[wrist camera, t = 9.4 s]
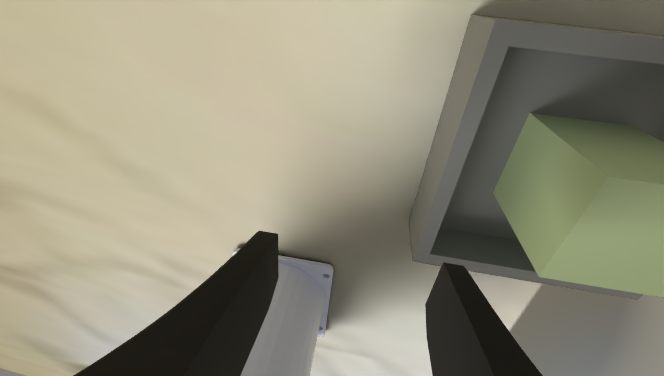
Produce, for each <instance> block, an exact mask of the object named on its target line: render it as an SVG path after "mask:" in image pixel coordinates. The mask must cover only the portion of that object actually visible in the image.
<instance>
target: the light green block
mask: <svg viewBox="0 0 664 376" xmlns="http://www.w3.org/2000/svg"><path fill="white" fill-rule="evenodd" d="M493 194H494V196H495V198H496V199H497V201H498V203H499V205H500V207H501V209H502V210H503V212H504V214H505V216H506V218H507V220H508V221H509V223H510V225H511V227H512V229H513V231H514V232H515V234H516V236H517V238H518V240H519V242H520V243H521V245H522V247H523V249H524V251H525V253H526V254H527V256H528V258H529V260H530V262H531V263H532V265H533V267H534V269H535V271H536V273H537V274H538V276H539V277H542V278H548V279H554V280H560V281H566V282H572V283H578V284H584V285H590V286H596V287H602V288H608V289H614V290H620V291H626V292H632V293H638V294H644V295H650V296H656V297H662V298H664V142H663V141H661V140H659V139H657V138H655V137H653V136H651V135H649V134H647V133H645V132H644V131H642V130H640V129H638V128H636V127H634V126H630V125H622V124H614V123H606V122H598V121H590V120H582V119H574V118H566V117H558V116H550V115H542V114H535V113H529V115H528V118H527V120H526V122H525V124H524V126H523V128H522V131H521V133H520V135H519V137H518V139H517V141H516V144H515V146H514V148H513V150H512V152H511V154H510V157H509V159H508V161H507V163H506V165H505V167H504V170H503V172H502V174H501V176H500V178H499V180H498V183H497V185H496V187H495V189H494V191H493Z"/></svg>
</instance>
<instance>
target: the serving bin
mask: <svg viewBox="0 0 664 376" xmlns="http://www.w3.org/2000/svg"><path fill="white" fill-rule="evenodd" d="M529 113H535V114H542V115H550V116H558V117H566V118H574V119H582V120H590V121H598V122H606V123H614V124H622V125H630V126H634V127H636V128H638V129H640V130H642V131H644V132H645V133H647V134H649V135H651V136H653V137H655V138H657V139H659V140H661V141H663V142H664V36H661V35H652V34H643V33H634V32H624V31H615V30H606V29H597V28H588V27H579V26H570V25H561V24H552V23H543V22H534V21H525V20H516V19H507V18H498V17H489V16H480V15H471V17H470V20H469V24H468V27H467V30H466V34H465V37H464V40H463V43H462V47H461V50H460V53H459V57H458V60H457V63H456V67H455V70H454V73H453V77H452V80H451V83H450V87H449V90H448V93H447V97H446V100H445V103H444V107H443V110H442V113H441V117H440V120H439V123H438V127H437V130H436V133H435V137H434V140H433V143H432V146H431V150H430V153H429V156H428V160H427V163H426V166H425V170H424V173H423V176H422V180H421V183H420V186H419V190H418V193H417V196H416V200H415V203H414V206H413V210H412V213H411V216H410V220H409V230H410V239H411V248H412V258H413V261H415V262H421V263H426V264H432V265H438V266H442V264H443V262H445V263H450V264H456V265H462V266H464V267H465V268H466V270H467V271H473V272H479V273H485V274H490V275H496V276H502V277H508V278H514V279H519V280H525V281H531V282H537V283H543V284H549V285H554V286H560V287H566V288H572V289H578V290H584V291H589V292H595V293H601V294H607V295H612V296H618V297H624V298H630V299H636V300H637V299H639V297H641V296H642V295H643V294H638V293H632V292H626V291H620V290H614V289H608V288H602V287H596V286H590V285H584V284H578V283H572V282H566V281H560V280H554V279H548V278H542V277H539V276H538V274H537V273H536V271H535V269H534V267H533V265H532V263H531V262H530V260H529V258H528V256H527V254H526V253H525V251H524V249H523V247H522V245H521V243H520V242H519V240H518V238H517V236H516V234H515V232H514V231H513V229H512V227H511V225H510V223H509V221H508V220H507V218H506V216H505V214H504V212H503V210H502V209H501V207H500V205H499V203H498V201H497V199H496V198H495V196H494V194H493V191H494V189H495V187H496V185H497V183H498V180H499V178H500V176H501V174H502V172H503V170H504V167H505V165H506V163H507V161H508V159H509V157H510V154H511V152H512V150H513V148H514V146H515V144H516V141H517V139H518V137H519V135H520V133H521V131H522V128H523V126H524V124H525V122H526V120H527V118H528V115H529Z"/></svg>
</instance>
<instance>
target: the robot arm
mask: <svg viewBox="0 0 664 376" xmlns="http://www.w3.org/2000/svg"><path fill="white" fill-rule="evenodd" d="M333 271H334V268H333V266H331V265H330V264H326V263H320V262H314V261H309V260H303V259H297V258H292V257H286V256H280V255H278V234H275V233H269V232H263V231H258V232H257V233H256V234H255V235H254V236H253V237H252V238H251V239H250V240H249V241H248V242H247V243H246V244H245V245H244V246H243V247H242V248H236V249H235V250H234V251H233V253H232V257H231V258H230V259H229V260H228V261H227V262H226V263H225V264H224V265H223V266H222V267H220V268H219V269H218V270H217V271H216V272H215V273H214V274H213V275H212V276H210V277H209V278H208V279H207V280H206V281H205V282H204V283H202V284H201V285H200V286H199V287H198V288H196V289H195V290H194V291H193V292H192V293H190V294H189V295H188V296H187V297H186V298H184V299H183V300H182V301H181V302H180V303H178V304H177V305H176V306H175V307H173V308H172V309H171V310H169V311H168V312H167V313H165V314H164V315H163V316H161V317H160V318H159V319H157V320H156V321H155V322H153V323H152V324H151V325H149V326H148V327H146V328H145V329H144V330H142V331H141V332H140V333H138V334H137V335H135V336H134V337H132V338H131V339H129V340H128V341H126V342H125V343H123V344H122V345H120V346H119V347H117V348H116V349H114V350H113V351H111V352H110V353H109V354H107V355H106V356H104V357H102V358H101V359H99V360H98V361H96V362H95V363H93V364H92V365H90V366H88V367H87V368H85V369H84V370H82V371H80V372H79V373H77V374H75V375H74V376H310V371H311V366H312V361H313V356H314V350H315V345H316V340H317V337H323V336H324V335H325V330H326V322H327V315H328V308H329V300H330V293H331V286H332V278H333ZM326 274H328V275H326ZM426 329H427V341H428V348H429V354H430V361H431V367H432V373H433V376H542V374H541V373H540V372H539V371H538V369H537V368H536V367H535V365H534V364H533V363H532V362H531V360H530V359H529V358H528V357H527V355H526V354H525V353H524V351H523V350H522V349H521V347H520V346H519V345H518V343H517V342H516V340H515V339H514V338H513V336H512V335H511V333H510V332H509V331H508V329H507V328H506V327H505V325H504V324H503V322H502V321H501V320H500V318H499V317H498V315H497V314H496V312H495V311H494V310H493V308H492V307H491V305H490V304H489V302H488V301H487V299H486V298H485V296H484V295H483V293H482V292H481V290H480V289H479V287H478V286H477V284H476V283H475V281H474V280H473V278H472V277H471V275H470V274H469V273H468V271H467V270H466V268H465V267H464V266H462V265H456V264H450V263H445V262H443V264H442V267H441V269H440V271H439V274H438V276H437V278H436V281H435V283H434V285H433V288H432V290H431V293H430V295H429V297H428V300H427V302H426Z"/></svg>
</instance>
